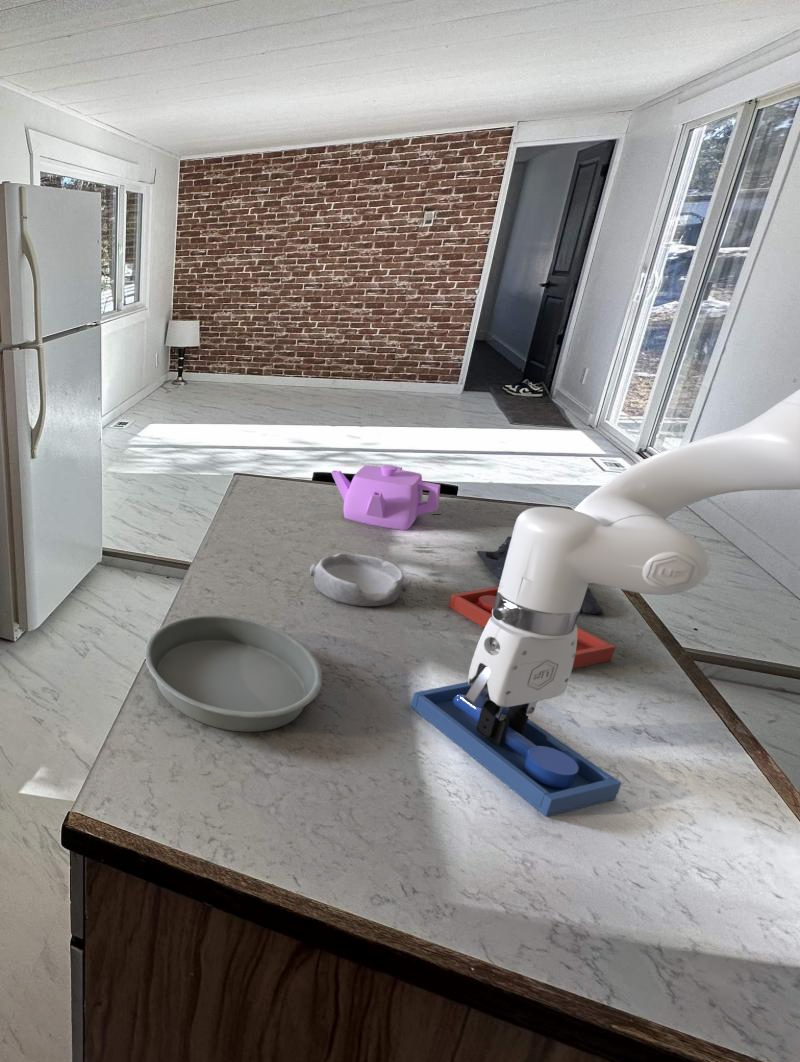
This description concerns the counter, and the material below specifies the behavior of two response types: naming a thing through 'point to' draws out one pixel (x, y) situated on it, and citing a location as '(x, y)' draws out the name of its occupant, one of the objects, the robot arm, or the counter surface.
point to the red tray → (587, 644)
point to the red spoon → (486, 603)
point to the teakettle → (386, 496)
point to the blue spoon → (532, 753)
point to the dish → (359, 579)
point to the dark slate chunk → (496, 566)
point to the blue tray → (515, 755)
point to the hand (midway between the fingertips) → (498, 734)
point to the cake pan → (232, 671)
